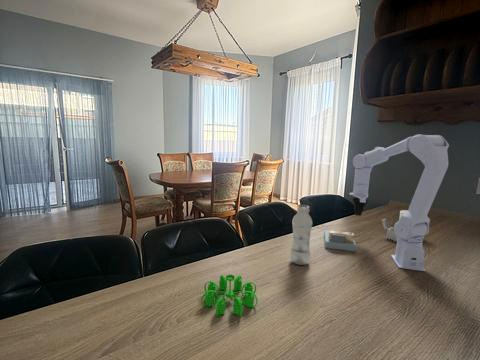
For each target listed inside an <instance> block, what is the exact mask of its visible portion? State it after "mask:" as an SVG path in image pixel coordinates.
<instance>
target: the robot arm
mask: <svg viewBox="0 0 480 360" xmlns="http://www.w3.org/2000/svg"><path fill="white" fill-rule="evenodd" d="M449 147H450V144H449V143H448V141H447V140H446V139H445V138H444V136H442V135H440V134H433V135H431V134H428V135H427V134H419V133H418V134H415V135H413V136H409V137H406V138H405V139H403V140H401V141H399V142H396V143H393V144H392V145H390V146H388V147H381V146H375V147H374V149H372V150H371V151H368V150H367V151H365V152H364V154H361V153H358V154H356V155H354V156H353V158H352V166H353V167H354V168H355V169H354V179H353V187H352V192H349V196H353V197H351V199H352V203H353V207H354V208H353V209H354V215H355V216H358V217H359V216H362V214H363V211H364V208H365V206H366V205H367V204H368V202H369V201H368V198H369V186H370V179H371V178H370V177H371V172H372V170H373V168H374V166H376V165H380V164H383V163H384V162H387V161H388V160H389V158H390V157H392V156H396V155H399V154H402V153H405V152H410V153H411V154H412V155H414V157H416V158H417V159H418V160H420V161H421V163H422V164H423V166H424V169H423V172H422V174H421V176H420V179H419V181H418V184H417V187H416V189H415V192H414V195H413V197H412V198H411V201H410V204H409V206H408V211H407V212H405V213H404V214H403V215H402V216H401V218H400V217H399V219H400V220H399V219H398V221H396V222H395V224H394V226H393V228H394V231H395V234H396V235H397V238H398V239H397V241H396V247H395V254H391V255H390V257H391V259H392V260H393V262H394V263H395V265H396V266H397V267H398V268H399V269H405V270H413V271H420V272H426V269H425V267H424V261H425V255H426V252H425V249H424V247H423V241H424V237H425V236H427V235H428V234H429V231H430V222H431V218H429V217H428V214H429V212H430V210H431V207H432V205H433V203H434V200H435V198H436V196H437V193H438V191H439V189H440V186H441V185H442V182H443V179H444V177H445V174H446V172H447V170H448V167H449V166H450V165H449V163H450V162H449V155H448V154H449V153H448V148H449Z"/></svg>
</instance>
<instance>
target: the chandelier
mask: <svg viewBox="0 0 480 360" xmlns="http://www.w3.org/2000/svg"><path fill="white" fill-rule="evenodd" d="M232 282H233V289H232ZM228 283H229V287H228ZM207 284H208V285H207ZM253 285H254V288H253ZM206 286H207V287H206ZM216 288H217V289H216ZM203 289H204V293H203V295H202V296H201V302H202V303H201V304H202V306H204V307H206V308H207V307H213V306H216V308H215V315H216V316H218V317H221V315H223V314H225V312H226V301H227V299H228V298H229V299H230V298H231V299H232V301H233V305H232V306H233V308H232V311H233V313H234V314H235V315H236V316H237V317H241V316H242V315H243V305H244V306H246V307H247V308H255V307H256V306H257V304H258V301H259V299H258V297H257V295H256V291H257V286H256V284H255V283H254V282H253V281H248V282H246V283H244V284H243V280H242V276H241V275H239V274H238V275H237V276H236V277H235V275H233V274H227V275H226V276H225V275H224V274H222V275H220V277H219V283H218V284H217V283H216V282H214V281H212V280H208V281H206V283H205V284H204V287H203ZM228 289H229V290H228ZM216 290H217V291H216ZM221 290H222V291H221ZM234 291H235V292H234ZM219 293H223V294H222V295H219ZM238 293H239V294H240V293H241V296H240V295H237V294H238ZM204 297H205V303H204V301H203V300H204ZM215 297H216V299H215ZM243 297H244V298H243ZM254 300H255V301H256V302H254ZM254 303H255V305H254Z"/></svg>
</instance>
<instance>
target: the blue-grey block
mask: <svg viewBox="0 0 480 360" xmlns="http://www.w3.org/2000/svg"><path fill="white" fill-rule="evenodd" d="M329 231H330V230H326V229H325V230H324V231H323V239H324V248H327V249H333V250H341V251H342V250H343V251H349V252H356V249H357V245H356V242H355V240H354V243H352V242H345V238H346V236H345V235H341V234H331V240H329V238H328V237H329Z"/></svg>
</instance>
